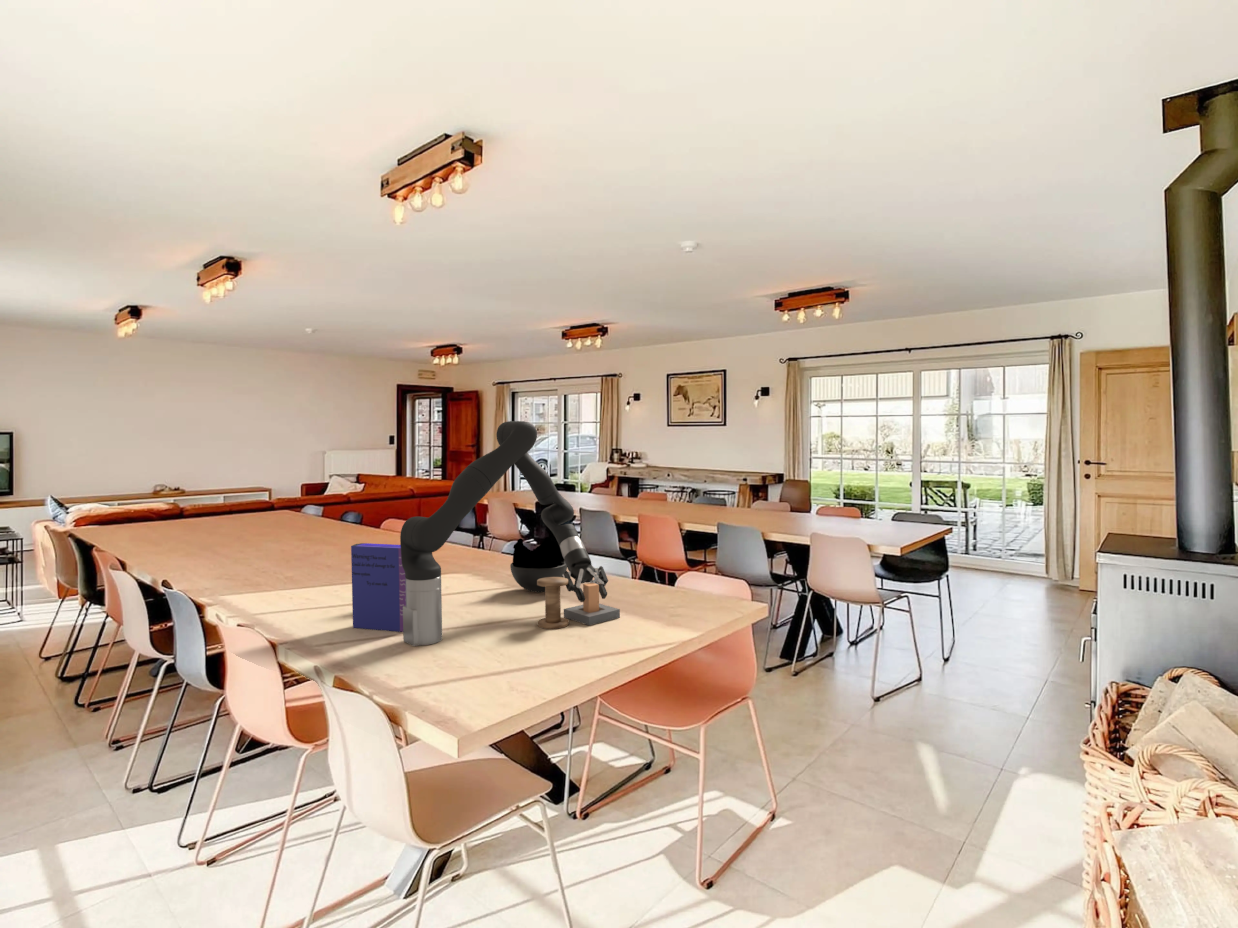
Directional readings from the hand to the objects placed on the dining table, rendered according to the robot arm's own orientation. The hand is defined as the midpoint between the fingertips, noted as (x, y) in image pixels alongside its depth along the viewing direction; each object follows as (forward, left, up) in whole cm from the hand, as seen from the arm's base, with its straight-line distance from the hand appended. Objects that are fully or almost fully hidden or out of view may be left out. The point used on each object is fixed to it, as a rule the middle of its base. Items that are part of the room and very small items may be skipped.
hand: (594, 598), depth 194 cm
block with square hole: (0, +2, -6) cm, 6 cm away
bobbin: (-13, +4, -6) cm, 14 cm away
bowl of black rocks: (+8, +40, -6) cm, 41 cm away
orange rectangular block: (0, +2, -6) cm, 6 cm away
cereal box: (-50, +35, -6) cm, 61 cm away
